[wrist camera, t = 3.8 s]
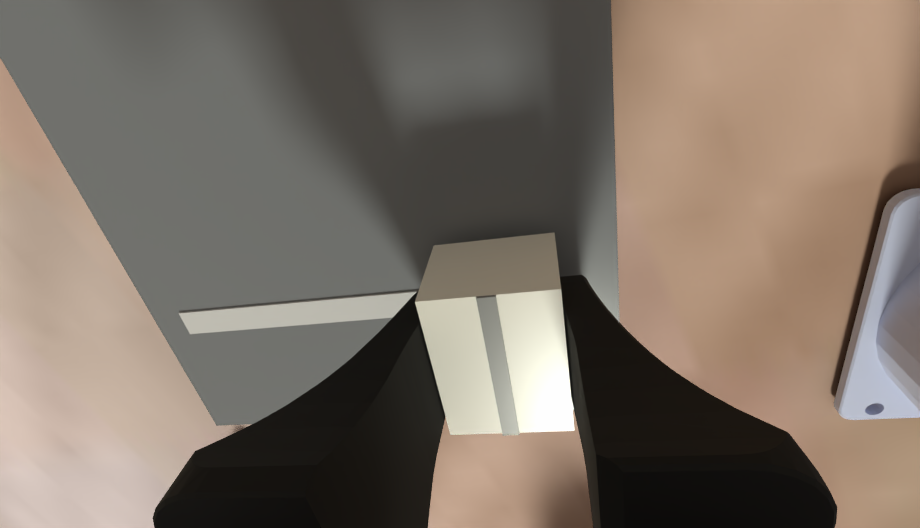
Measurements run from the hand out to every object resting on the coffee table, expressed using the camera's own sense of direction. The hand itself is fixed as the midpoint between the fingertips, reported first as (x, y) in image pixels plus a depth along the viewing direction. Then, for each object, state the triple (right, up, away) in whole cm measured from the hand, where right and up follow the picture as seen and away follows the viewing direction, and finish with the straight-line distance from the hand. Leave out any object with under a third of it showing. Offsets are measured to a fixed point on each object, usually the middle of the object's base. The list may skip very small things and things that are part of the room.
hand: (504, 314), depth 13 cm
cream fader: (0, 0, 0) cm, 0 cm away
